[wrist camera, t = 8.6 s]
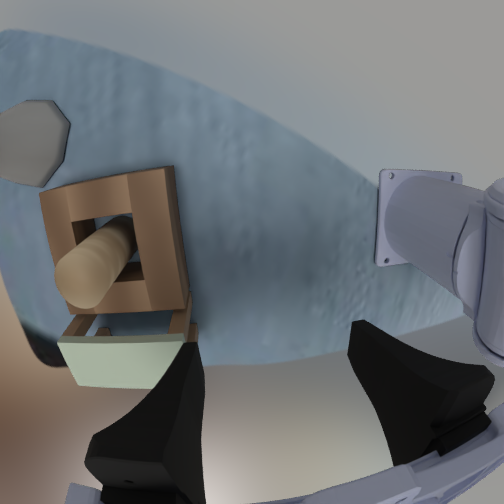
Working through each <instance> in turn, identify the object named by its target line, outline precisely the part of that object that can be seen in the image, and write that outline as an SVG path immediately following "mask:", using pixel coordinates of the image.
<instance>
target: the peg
mask: <svg viewBox="0 0 504 504" xmlns="http://www.w3.org/2000/svg"><path fill="white" fill-rule="evenodd" d="M137 249H138V245H137V240H136V234H135V228H134V223H133V219H131V218H129V217H127V216H117V217H115V218H113V219H111V220H110V221H109V222H107V223H106V224H105V225H103V226H102V227H101V228H99V229H98V230H97V231H95V232H94V233H93V234H91V235H90V236H89V237H88V238H86V239H85V240H84V241H82V242H81V243H80V244H79V245H77V246H76V247H75V248H74V249H72V250H71V251H70V252H69V253H67V254H66V255H65V256H64V257H63V258H61V259H60V260H59V262H58V263H57V265H56V268H55V274H54V277H55V283H56V286H57V288H58V290H59V292H60V294H61V295H62V296H63V298H64V299H65V300H66V301H68V302H69V303H70V304H72V305H74V306H76V307H78V308H83V309H89V308H93V307H95V306H96V305H98V304H99V303H100V302H101V300H102V299H103V297H104V296H105V294H106V293H107V291H108V290H109V288H110V287H111V285H112V284H113V282H114V281H115V280H116V278H117V277H118V275H119V274H120V272H121V271H122V270H123V268H124V267H125V265H126V264H127V263H128V261H129V260H130V259H131V257H132V256H133V254H134V253H135V252H136V250H137Z"/></svg>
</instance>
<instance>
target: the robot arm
mask: <svg viewBox="0 0 504 504" xmlns="http://www.w3.org/2000/svg"><path fill="white" fill-rule="evenodd" d="M390 173H392V177H391V178H389V174H390ZM386 258H387V260H386V262H384V260H385V259H386ZM375 263H376V265H377V266H379V267H383V266H390V265H397V264H404V263H411V264H412V265H414V266H415V267H417V268H418V269H420V270H421V271H422V272H424V273H425V274H427V275H428V276H429V277H431V278H432V279H433V280H435V281H436V282H438V283H439V284H440V285H442V286H443V287H444V288H446V289H447V290H448V291H450V292H451V293H452V294H454V295H455V296H456V297H457V298H459V299H460V300H461V301H462V303H463V307H464V309H463V312H464V313H465V314H466V315H467V316H469V317H470V318H471V319H472V320H473V321H474V324H473V339H474V342H475V345H476V347H477V348H478V350H479V351H480V353H481V354H482V355H483V356H484V357H485V358H486V359H487V360H489V361H490V362H492V363H494V364H495V365H498V366H500V367H503V368H504V178H501V179H498V180H496V181H495V182H494V183H493V184H492V185H491V186H490V187H489V188H487V189H486V191H482V190H479V189H475V188H472V187H468V186H464V185H462V175H461V174H460V173H454V172H440V171H423V170H402V169H383V170H381V171H380V173H379V204H378V226H377V241H376V254H375ZM347 355H348V358H349V360H350V363H351V365H352V368H353V370H354V372H355V374H356V376H357V378H358V380H359V381H360V383H361V385H362V387H363V388H364V390H365V392H366V394H367V395H368V397H369V399H370V401H371V402H372V404H373V406H374V408H375V410H376V413H377V415H378V418H379V420H380V423H381V425H382V428H383V431H384V434H385V437H386V440H387V443H388V447H389V450H390V454H391V457H392V461H393V466H394V467H392V468H389V469H387V470H384V471H381V472H378V473H376V474H373V475H370V476H367V477H364V478H361V479H358V480H354V481H351V482H348V483H344V484H340V485H337V486H333V487H330V488H327V489H324V490H321V491H318V492H316V493H313V494H310V495H305V496H300V497H295V498H289V499H283V500H277V501H270V502H261V503H252V504H447V503H448V502H450V501H451V500H453V499H455V498H456V497H458V496H459V495H461V494H462V493H464V492H465V491H467V490H468V489H470V488H471V487H472V486H474V485H475V484H476V483H478V482H479V481H480V480H482V479H483V478H485V477H486V476H487V475H488V474H490V473H491V472H492V471H493V470H495V469H496V468H497V467H499V466H500V465H501V464H502V463H504V403H502V404H501V405H499V406H498V407H497V408H495V409H494V410H492V411H491V412H490V413H489V414H488V415H486V414H485V412H484V411H485V410H486V406H485V405H484V404H483V403H484V401H485V399H486V398H487V396H488V394H489V393H490V391H491V389H492V387H493V385H494V381H495V378H494V375H493V374H492V373H491V372H490V371H489V370H488V369H487V368H486V366H484V365H474V364H465V363H459V362H454V361H450V360H446V359H442V358H439V357H436V356H433V355H430V354H427V353H425V352H422V351H420V350H417V349H415V348H413V347H411V346H409V345H407V344H405V343H403V342H401V341H399V340H398V339H396V338H394V337H392V336H391V335H389V334H387V333H386V332H384V331H382V330H381V329H379V328H377V327H376V326H374V325H372V324H371V323H369V322H367V321H365V320H358V321H353V322H352V326H351V333H350V340H349V347H348V354H347ZM204 398H205V379H204V370H203V366H202V362H201V357H200V353H199V348H198V343H197V342H185V343H183V344H182V346H181V347H180V349H179V351H178V353H177V355H176V356H175V358H174V360H173V361H172V363H171V364H170V366H169V367H168V369H167V370H166V372H165V373H164V375H163V376H162V377H161V379H160V380H159V381H158V383H157V384H156V385H155V387H154V388H153V389H152V390H151V391H150V393H149V394H148V395H147V396H146V397H145V398H144V399H143V400H142V401H141V402H140V403H139V404H138V405H137V406H135V407H134V408H133V409H132V410H131V411H130V412H129V413H128V414H126V415H125V416H123V417H122V418H121V419H119V420H118V421H116V422H115V423H113V424H112V425H110V426H109V427H107V428H105V429H103V430H101V431H100V432H98V433H96V434H94V435H93V437H92V439H91V441H90V444H89V447H88V451H87V454H86V457H85V461H84V463H85V466H86V468H87V469H88V470H89V471H90V472H91V473H92V475H93V476H94V477H95V478H96V479H97V480H99V481H100V482H101V483H102V484H103V488H102V491H100V490H98V489H96V488H92V487H88V486H84V485H79V484H75V483H70V485H69V489H68V493H67V497H66V501H65V504H206V499H205V490H204V480H203V467H202V448H201V431H202V419H203V409H204Z"/></svg>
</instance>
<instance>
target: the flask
mask: <svg viewBox="0 0 504 504" xmlns="http://www.w3.org/2000/svg"><path fill="white" fill-rule="evenodd" d="M69 125H70V123H69V122H68V121H67V119H66V118H65V117H64V116H63V114H62V113H61V112H60V110H59V109H58V108H57V106H56V105H55V104H54V102H53V101H52V100H26V101H24V102H21V103H19V104H17V105H15V106H13V107H12V108H10V109H8V110H6V111H4V112H2V113H0V177H1V178H4V179H7V180H9V181H12V182H15V183H18V184H23V185H29V186H34V187H40V188H43V186H44V185H45V184H46V182H47V181H48V180H49V178H50V177H51V176H52V174H53V173H54V172H55V171H56V169H57V168H58V167H59V165H60V164H61V163H62V162H63V157H64V151H65V145H66V140H67V135H68V130H69Z"/></svg>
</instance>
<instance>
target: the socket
mask: <svg viewBox="0 0 504 504" xmlns="http://www.w3.org/2000/svg"><path fill="white" fill-rule="evenodd" d="M39 197H40V203H41V209H42V214H43V219H44V224H45V229H46V233H47V238H48V242H49V246H50V250H51V254H52V258H53V262H54V265H55V268H56V265H57V263H58V262H59V260H60V259H61V258H63V257H64V256H65V255H66V254H67V253H69V252H70V251H71V250H72V249H74V248H75V247H76V246H77V245H79V244H80V243H81V242H82V241H84V240H85V239H86V238H88V237H89V236H90V235H91V234H93V233H94V232H95V231H96V229H95V224H94V218H98V217H105V216H111V215H118V214H125V213H132V216H133V223H134V228H135V234H136V240H137V245H138V250H139V255H140V260H141V262H131V263H127V264H126V265H125V267H124V268H123V270H122V271H121V272H120V274H119V275H118V277H117V278H116V280H115V281H114V282H113V284H112V285H111V287H110V288H109V290H108V291H107V293H106V294H105V296H104V297H103V299H102V300H101V302H100V303H99V304H98V305H96V306H95V307H93V308H89V309H83V308H78V307H76V306H74V305H72V304H70V303H69V302H68V301H66V300H65V301H66V303H67V306H68V309H69V312H70V314H103V313H126V312H144V311H160V310H174V309H185V307H186V302H187V296H188V291H189V286H190V284H189V278H188V272H187V266H186V259H185V253H184V246H183V239H182V232H181V225H180V217H179V209H178V201H177V192H176V183H175V174H174V165H173V166H165V167H158V168H152V169H145V170H139V171H133V172H127V173H121V174H115V175H110V176H105V177H100V178H95V179H90V180H85V181H80V182H76V183H71V184H67V185H63V186H59V187H56V188H53V189H50V190H47V191H44V192H41V193H39Z"/></svg>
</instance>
